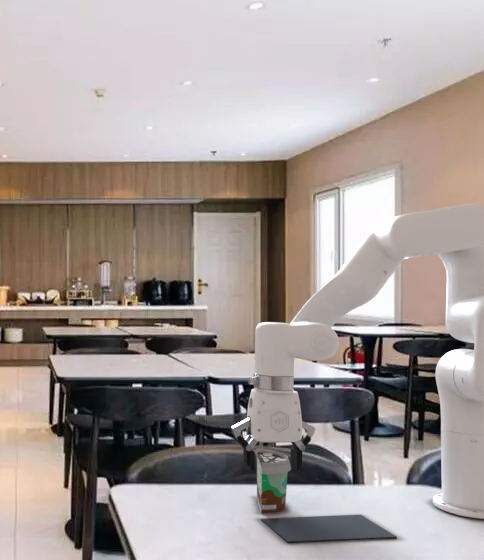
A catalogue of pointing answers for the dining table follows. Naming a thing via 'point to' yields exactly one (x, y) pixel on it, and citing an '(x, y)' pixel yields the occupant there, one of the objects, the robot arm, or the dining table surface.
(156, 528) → the dining table surface
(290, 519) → the mat
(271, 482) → the food container
